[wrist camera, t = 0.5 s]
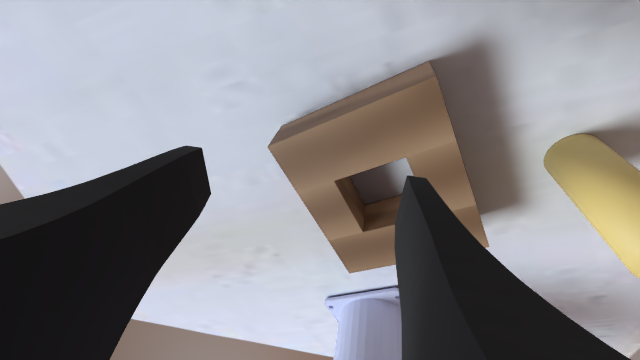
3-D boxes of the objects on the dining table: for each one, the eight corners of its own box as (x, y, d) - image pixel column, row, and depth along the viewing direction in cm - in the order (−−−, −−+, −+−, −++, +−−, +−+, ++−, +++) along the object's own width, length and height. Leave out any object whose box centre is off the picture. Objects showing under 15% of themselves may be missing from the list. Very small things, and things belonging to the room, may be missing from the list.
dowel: (604, 168, 18) (725, 274, 12) (546, 182, 19) (627, 286, 13) (601, 126, 17) (735, 220, 11) (540, 144, 18) (627, 239, 12)
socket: (477, 216, 22) (489, 246, 19) (352, 245, 26) (349, 273, 23) (428, 60, 17) (436, 75, 14) (281, 126, 21) (267, 146, 18)
